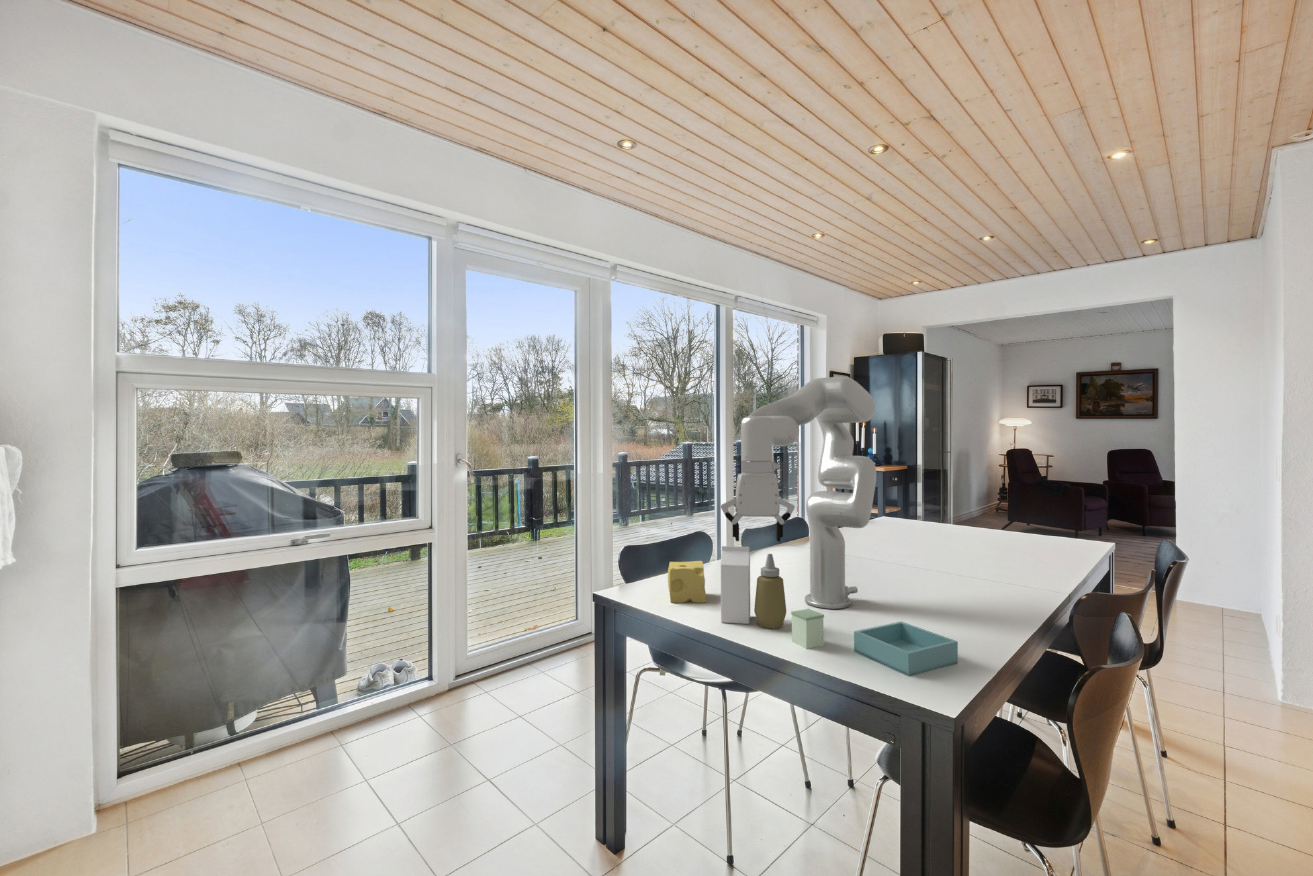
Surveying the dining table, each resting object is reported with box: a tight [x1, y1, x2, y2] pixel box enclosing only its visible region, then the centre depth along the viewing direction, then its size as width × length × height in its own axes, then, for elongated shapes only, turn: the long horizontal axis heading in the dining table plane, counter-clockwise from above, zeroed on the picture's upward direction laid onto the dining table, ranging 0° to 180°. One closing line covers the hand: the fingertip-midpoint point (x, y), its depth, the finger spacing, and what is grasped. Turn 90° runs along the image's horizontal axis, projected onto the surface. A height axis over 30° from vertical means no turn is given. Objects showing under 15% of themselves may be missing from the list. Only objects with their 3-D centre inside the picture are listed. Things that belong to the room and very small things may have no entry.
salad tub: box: [790, 608, 825, 650], centre depth 136 cm, size 5×5×7 cm
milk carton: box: [720, 545, 751, 625], centre depth 153 cm, size 7×7×19 cm
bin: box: [853, 621, 959, 677], centre depth 127 cm, size 15×15×4 cm
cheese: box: [667, 560, 707, 604], centre depth 173 cm, size 10×11×10 cm
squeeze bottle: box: [753, 553, 787, 629], centre depth 148 cm, size 8×8×18 cm
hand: (757, 540), depth 140 cm, fingers open, 9 cm apart
